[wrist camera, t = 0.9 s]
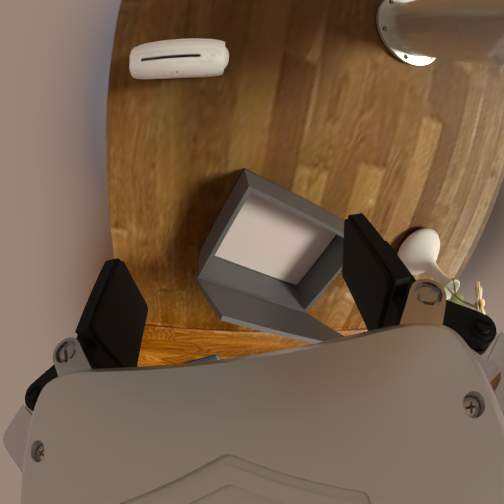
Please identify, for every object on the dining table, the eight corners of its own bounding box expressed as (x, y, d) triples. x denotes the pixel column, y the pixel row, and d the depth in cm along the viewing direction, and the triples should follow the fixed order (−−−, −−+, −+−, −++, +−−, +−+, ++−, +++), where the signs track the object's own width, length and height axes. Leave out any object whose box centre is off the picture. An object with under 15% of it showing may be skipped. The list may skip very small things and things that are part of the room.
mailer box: (244, 168, 40) (248, 186, 34) (346, 221, 47) (363, 244, 41) (199, 251, 47) (197, 278, 41) (296, 286, 54) (305, 312, 48)
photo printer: (228, 48, 29) (231, 34, 19) (226, 77, 32) (228, 76, 22) (150, 51, 28) (120, 42, 18) (149, 80, 30) (119, 83, 20)
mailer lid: (222, 315, 26) (220, 321, 26) (367, 350, 33) (365, 354, 33) (196, 277, 41) (194, 281, 41) (306, 312, 49) (304, 316, 49)
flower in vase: (435, 254, 54) (497, 334, 34) (396, 276, 56) (451, 367, 36) (432, 209, 47) (513, 292, 27) (387, 233, 49) (461, 332, 29)
